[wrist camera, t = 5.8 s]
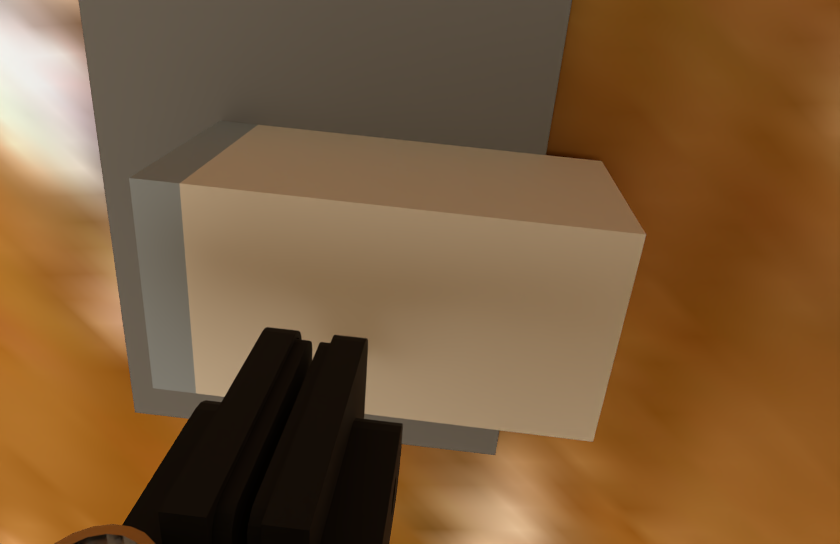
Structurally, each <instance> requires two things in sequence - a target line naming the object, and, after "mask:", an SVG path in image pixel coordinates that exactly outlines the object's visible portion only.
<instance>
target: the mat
mask: <svg viewBox="0 0 840 544" xmlns="http://www.w3.org/2000/svg"><path fill="white" fill-rule="evenodd" d="M571 3H572V0H79V7H80V14H81V21H82V29H83V36H84V43H85V51H86V58H87V65H88V72H89V80H90V87H91V94H92V101H93V109H94V116H95V123H96V131H97V138H98V145H99V152H100V160H101V167H102V174H103V182H104V189H105V196H106V203H107V211H108V218H109V225H110V233H111V240H112V247H113V254H114V262H115V269H116V276H117V283H118V291H119V298H120V305H121V313H122V320H123V327H124V334H125V342H126V349H127V356H128V364H129V371H130V378H131V385H132V393H133V400H134V407H135V412H138V413H146V414H154V415H163V416H171V417H180V418H188V419H189V418H190V416H191V415H192V413H193V412H194V410H195V409H196V407H197V406H198V405H199V404H200V402H202V401H205V400H208V401H216V402H222V400H223V398H224V397H221V396H213V395H205V394H197V393H188V392H180V391H172V390H164V389H156V388H153V384H152V375H151V366H150V357H149V349H148V340H147V331H146V322H145V314H144V305H143V296H142V287H141V279H140V270H139V261H138V252H137V244H136V235H135V226H134V217H133V209H132V200H131V191H130V182H129V178H130V177H131V176H133V175H134V174H136V173H138V172H139V171H141V170H142V169H144V168H146V167H147V166H149V165H150V164H152V163H154V162H155V161H157V160H159V159H160V158H162V157H163V156H165V155H167V154H168V153H170V152H171V151H173V150H175V149H176V148H178V147H179V146H181V145H183V144H184V143H186V142H187V141H189V140H191V139H192V138H194V137H195V136H197V135H199V134H200V133H202V132H203V131H205V130H207V129H208V128H210V127H211V126H213V125H215V124H216V123H218V122H219V121H228V122H237V123H247V124H256V125H266V126H275V127H285V128H294V129H304V130H313V131H322V132H332V133H341V134H351V135H360V136H370V137H379V138H389V139H398V140H407V141H417V142H426V143H436V144H445V145H455V146H464V147H474V148H483V149H493V150H502V151H511V152H521V153H530V154H540V155H546V151H547V145H548V139H549V133H550V127H551V121H552V116H553V110H554V104H555V98H556V92H557V86H558V80H559V74H560V68H561V62H562V56H563V50H564V44H565V38H566V33H567V27H568V21H569V15H570V9H571ZM364 419H370V420H378V421H387V422H395V423H403V432H402V444H406V445H415V446H423V447H432V448H440V449H448V450H457V451H465V452H474V453H482V454H490V455H495V453H496V447H497V441H498V435H499V430H493V429H484V428H476V427H468V426H460V425H452V424H443V423H435V422H427V421H419V420H410V419H402V418H394V417H386V416H378V415H369V414H364Z"/></svg>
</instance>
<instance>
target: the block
mask: <svg viewBox="0 0 840 544" xmlns="http://www.w3.org/2000/svg"><path fill="white" fill-rule="evenodd" d="M129 182H130V191H131V200H132V209H133V217H134V226H135V235H136V244H137V252H138V261H139V270H140V279H141V287H142V296H143V305H144V314H145V322H146V331H147V340H148V349H149V357H150V366H151V375H152V384H153V388H156V389H164V390H172V391H180V392H188V393H197V394H205V395H213V396H221V397H225V395H226V393H227V392H228V390H229V388H230V386H231V385H232V383H233V381H234V379H235V378H236V376H237V374H238V373H239V371H240V369H241V367H242V366H243V364H244V362H245V360H246V359H247V357H248V355H249V354H250V352H251V350H252V348H253V347H254V345H255V343H256V341H257V340H258V338H259V336H260V335H261V333H262V331H263V330H264V328H266V327H271V328H280V329H289V330H298V331H300V333H301V338H302V340H308V341H311V342H312V360H313V357H314V355H315V353H316V350H317V348H318V345H319V343H320V342H326V343H331V340H332V338H333V336H334V335H342V336H351V337H360V338H367V339H368V357H367V376H366V394H365V412H364V414H369V415H378V416H386V417H394V418H402V419H410V420H419V421H427V422H435V423H443V424H452V425H460V426H468V427H476V428H484V429H493V430H501V431H509V432H517V433H526V434H534V435H542V436H550V437H558V438H567V439H575V440H583V441H591V442H593V440H594V436H595V432H596V428H597V424H598V420H599V416H600V412H601V409H602V405H603V401H604V397H605V393H606V389H607V385H608V381H609V377H610V374H611V370H612V366H613V362H614V358H615V354H616V350H617V346H618V342H619V339H620V335H621V331H622V327H623V323H624V319H625V315H626V311H627V307H628V304H629V300H630V296H631V292H632V288H633V284H634V280H635V276H636V272H637V269H638V265H639V261H640V257H641V253H642V249H643V245H644V241H645V237H646V233H645V232H644V230H643V229H642V227H641V225H640V224H639V222H638V220H637V219H636V217H635V215H634V214H633V212H632V210H631V209H630V207H629V205H628V204H627V202H626V200H625V199H624V197H623V195H622V194H621V192H620V191H619V189H618V187H617V186H616V184H615V182H614V181H613V179H612V177H611V176H610V174H609V172H608V171H607V169H606V167H605V166H604V164H603V162H602V161H596V160H587V159H578V158H568V157H559V156H549V155H540V154H530V153H521V152H511V151H502V150H493V149H483V148H474V147H464V146H455V145H445V144H436V143H426V142H417V141H407V140H398V139H389V138H379V137H370V136H360V135H351V134H341V133H332V132H322V131H313V130H304V129H294V128H285V127H275V126H266V125H256V124H247V123H237V122H228V121H219V122H218V123H216V124H215V125H213V126H211V127H210V128H208V129H207V130H205V131H203V132H202V133H200V134H199V135H197V136H195V137H194V138H192V139H191V140H189V141H187V142H186V143H184V144H183V145H181V146H179V147H178V148H176V149H175V150H173V151H171V152H170V153H168V154H167V155H165V156H163V157H162V158H160V159H159V160H157V161H155V162H154V163H152V164H150V165H149V166H147V167H146V168H144V169H142V170H141V171H139V172H138V173H136V174H134V175H133V176H131V177H130V178H129Z"/></svg>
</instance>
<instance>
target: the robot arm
mask: <svg viewBox="0 0 840 544" xmlns="http://www.w3.org/2000/svg"><path fill="white" fill-rule="evenodd" d="M367 357H368V339H367V338H360V337H351V336H342V335H334V336H333V338H332V340H331V343H326V342H320V343H319V345H318V348H317V350H316V353H315V355H314V357H313V360H312V342H311V341H308V340H302V338H301V333H300V331H298V330H289V329H280V328H271V327H266V328H264V330H263V331H262V333H261V335H260V336H259V338H258V340H257V341H256V343H255V345H254V347H253V348H252V350H251V352H250V354H249V355H248V357H247V359H246V360H245V362H244V364H243V366H242V367H241V369H240V371H239V373H238V374H237V376H236V378H235V379H234V381H233V383H232V385H231V386H230V388H229V390H228V392H227V393H226V395H225V397H224V398H223V400H222V402H216V401H208V400H205V401H202V402H200V404H199V405H198V406H197V407H196V409H195V410H194V412H193V413H192V415H191V416H190V418H189V420H188V421H187V423H186V424H185V426H184V428H183V429H182V431H181V432H180V434H179V436H178V437H177V439H176V440H175V442H174V444H173V445H172V447H171V448H170V450H169V451H168V453H167V455H166V456H165V458H164V459H163V461H162V463H161V464H160V466H159V467H158V469H157V471H156V472H155V474H154V475H153V477H152V479H151V480H150V482H149V483H148V485H147V486H146V488H145V490H144V491H143V493H142V494H141V496H140V498H139V499H138V501H137V502H136V504H135V506H134V507H133V509H132V510H131V512H130V514H129V515H128V517H127V518H126V520H125V522H124V523H123V525H116V524H110V525H102V526H93V527H90V528H87V529H84V530H81V531H78V532H75V533H72V534H71V535H69V536H67V537H65V538H63V539H62V540H60V541H58V542H56V543H55V544H389V541H390V535H391V528H392V521H393V515H394V508H395V500H396V493H397V484H398V476H399V466H400V456H401V444H402V432H403V423H395V422H387V421H378V420H370V419H364V412H365V394H366V376H367Z"/></svg>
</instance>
